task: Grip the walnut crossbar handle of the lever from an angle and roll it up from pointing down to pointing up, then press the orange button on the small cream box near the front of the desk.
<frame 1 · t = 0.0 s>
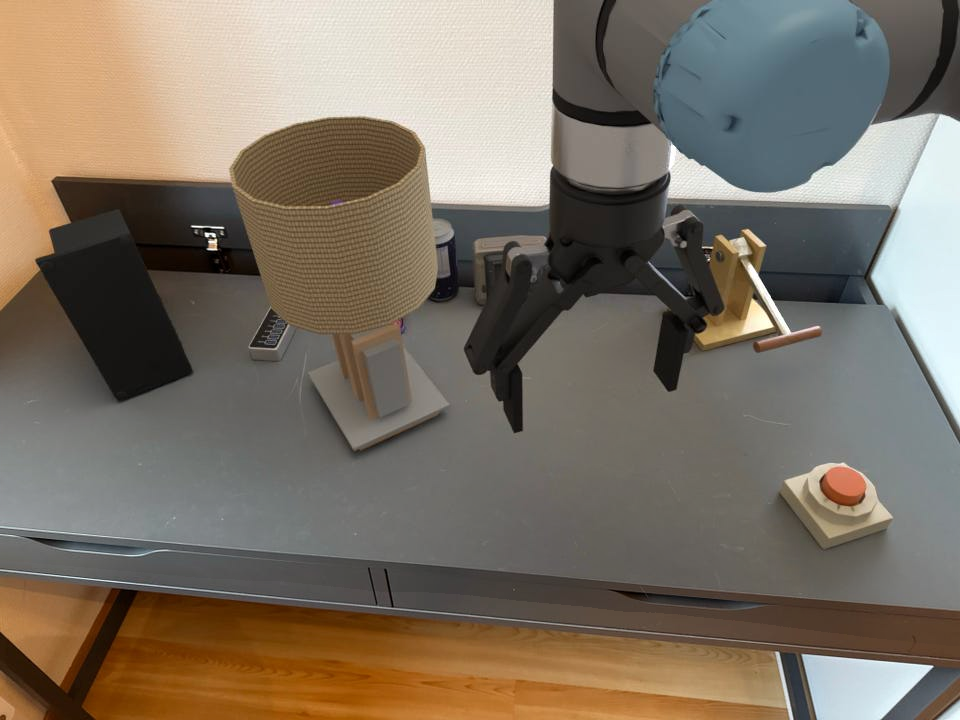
hand: (590, 400, 58), 25 cm above the table, tool pointing down, fingers open, 13 cm apart
bracket: (721, 320, 103), on the table
button box: (831, 510, 79), on the table
desk lamp: (379, 401, 95), on the table
smartphone: (379, 306, 109), on the table
beverage can: (441, 293, 111), on the table
camera: (511, 298, 110), on the table
multiport hub: (283, 329, 107), on the table
bookend: (140, 344, 106), on the table
button: (843, 485, 76), point 4 cm above the table, slide at 0.1 cm
lever: (760, 292, 92), point 10 cm above the table, hinge at -20.0°
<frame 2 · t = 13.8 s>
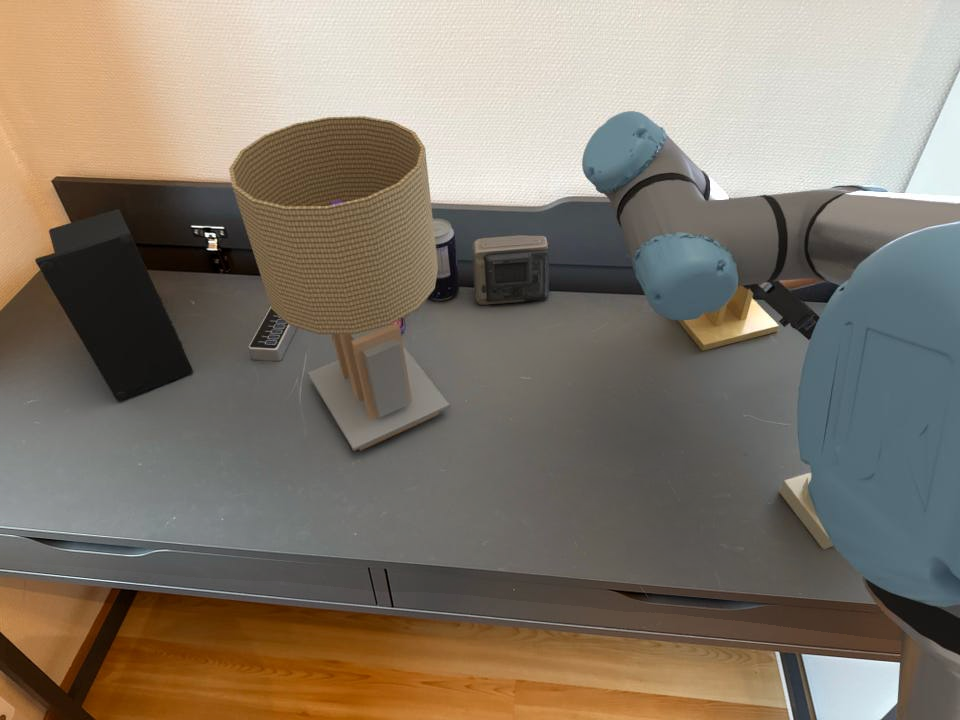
hand: (795, 310, 86), 12 cm above the table, tool tilted 45°, fingers open, 7 cm apart
lever: (768, 264, 89), point 14 cm above the table, hinge at 19.2°, touching gripper
everything else where it was.
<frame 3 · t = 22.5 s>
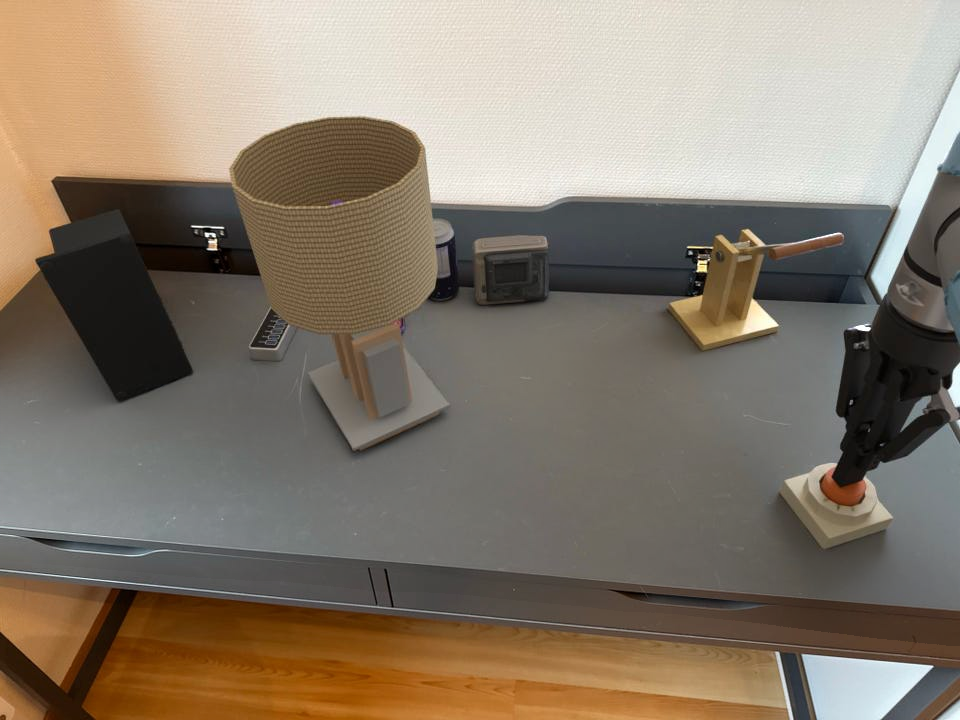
hand: (846, 478, 75), 6 cm above the table, tool pointing down, fingers closed
button: (843, 485, 76), point 4 cm above the table, slide at 0.1 cm, touching gripper
lever: (767, 249, 88), point 16 cm above the table, hinge at 35.3°
everything else where it was.
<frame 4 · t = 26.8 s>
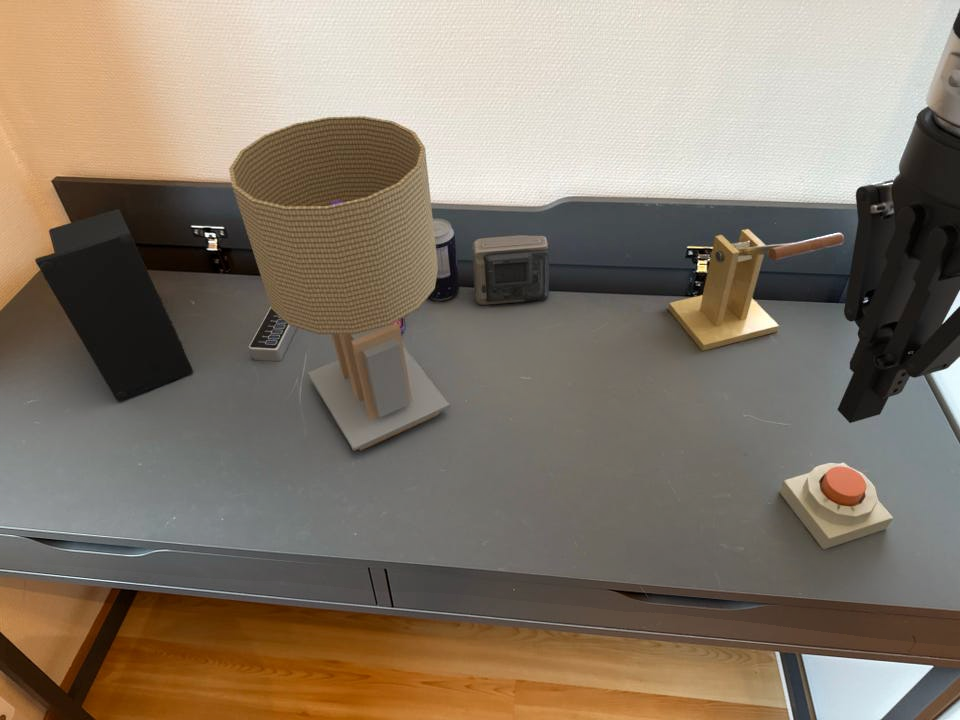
hand: (858, 411, 54), 26 cm above the table, tool pointing down, fingers closed
button: (843, 485, 76), point 4 cm above the table, slide at 0.1 cm
everything else where it was.
at the end: lever at +35° (first picture: -20°); button pushed in 1.0 cm at the most during the clip, back to where it started at the end; button slide at 0.1 cm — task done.
